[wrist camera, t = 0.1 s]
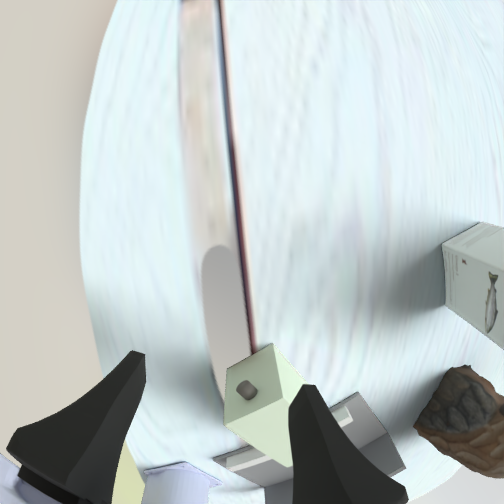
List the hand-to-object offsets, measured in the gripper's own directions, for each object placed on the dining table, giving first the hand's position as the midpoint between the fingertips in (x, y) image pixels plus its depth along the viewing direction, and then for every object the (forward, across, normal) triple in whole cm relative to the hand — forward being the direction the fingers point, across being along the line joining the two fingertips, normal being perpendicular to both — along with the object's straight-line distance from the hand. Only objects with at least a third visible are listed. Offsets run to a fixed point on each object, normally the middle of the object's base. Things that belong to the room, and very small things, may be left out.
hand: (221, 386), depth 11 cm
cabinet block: (+9, -6, +10) cm, 15 cm away
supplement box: (+12, -23, -6) cm, 26 cm away
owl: (+9, -33, +12) cm, 37 cm away
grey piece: (+7, -14, +22) cm, 27 cm away
